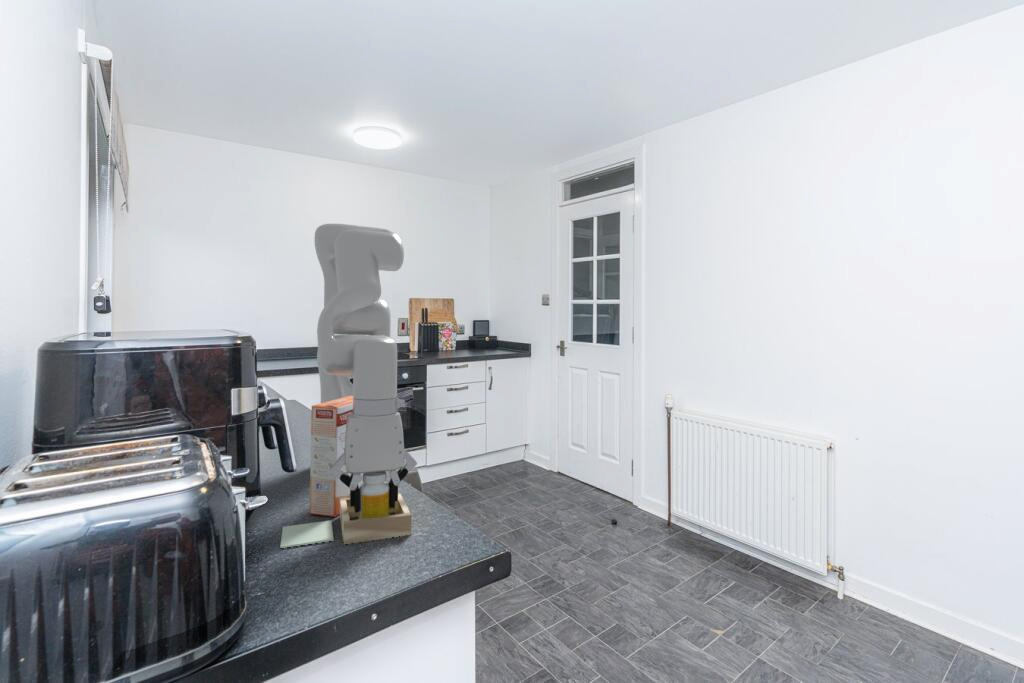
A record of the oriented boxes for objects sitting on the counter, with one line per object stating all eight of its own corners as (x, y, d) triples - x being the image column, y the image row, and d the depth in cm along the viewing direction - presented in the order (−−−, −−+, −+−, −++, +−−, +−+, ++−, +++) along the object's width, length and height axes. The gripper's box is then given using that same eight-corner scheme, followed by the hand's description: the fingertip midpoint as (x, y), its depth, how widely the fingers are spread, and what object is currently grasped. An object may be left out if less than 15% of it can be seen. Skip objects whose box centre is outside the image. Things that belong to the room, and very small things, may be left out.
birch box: (339, 517, 90) (339, 498, 90) (399, 509, 94) (399, 491, 94) (343, 545, 79) (343, 524, 79) (411, 534, 83) (411, 514, 83)
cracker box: (337, 518, 89) (338, 406, 88) (308, 515, 90) (308, 404, 90) (373, 492, 103) (374, 395, 102) (347, 490, 104) (348, 394, 103)
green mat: (282, 528, 84) (282, 526, 84) (331, 522, 88) (331, 520, 87) (280, 549, 77) (280, 546, 77) (333, 541, 80) (333, 538, 80)
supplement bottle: (353, 525, 87) (353, 472, 86) (380, 517, 90) (380, 466, 90) (367, 535, 83) (367, 479, 82) (395, 526, 86) (395, 473, 86)
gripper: (418, 401, 92) (417, 494, 93) (322, 406, 86) (322, 506, 87) (427, 408, 86) (426, 508, 86) (324, 413, 79) (323, 522, 80)
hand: (374, 506), depth 86 cm, fingers closed on supplement bottle, 5 cm apart
